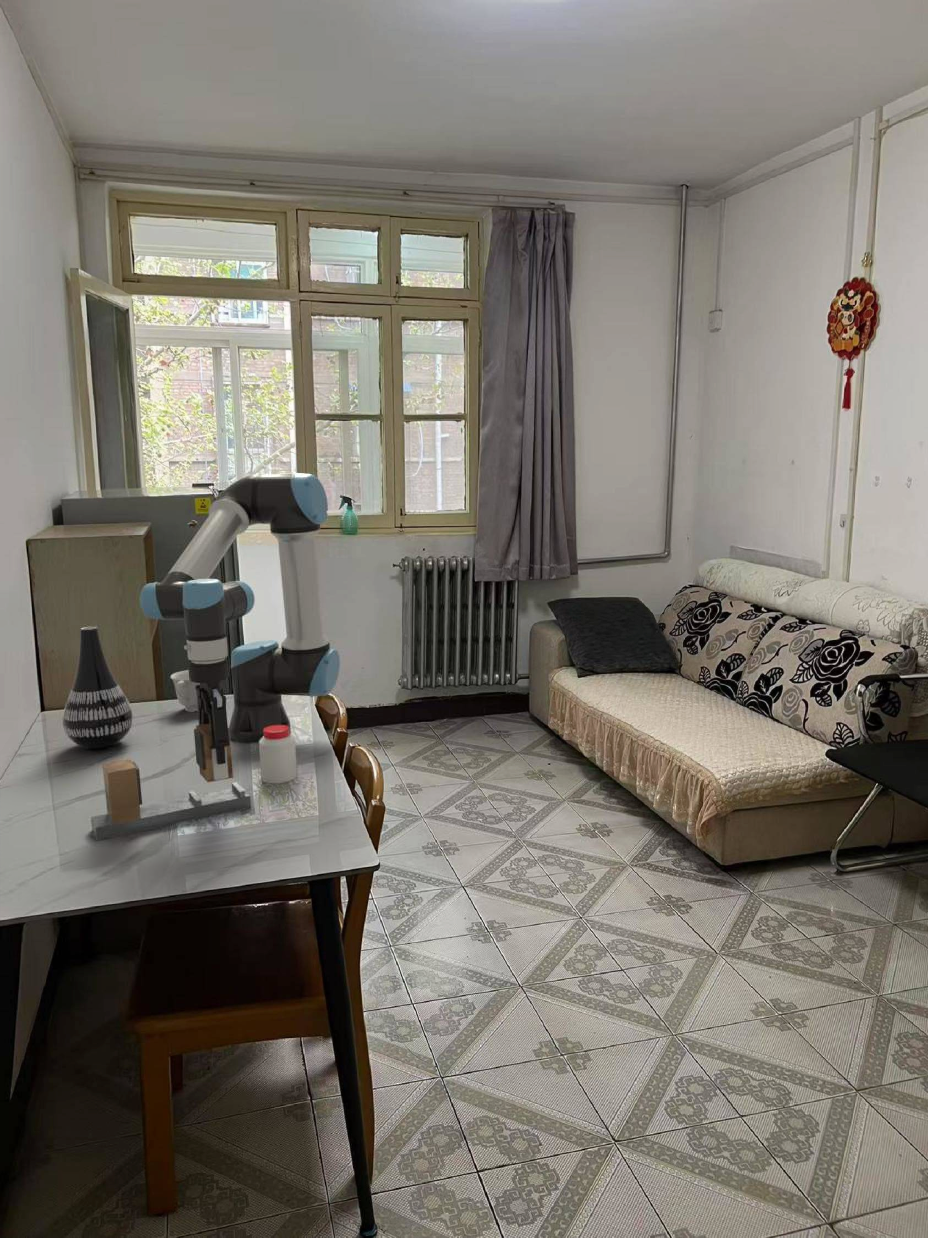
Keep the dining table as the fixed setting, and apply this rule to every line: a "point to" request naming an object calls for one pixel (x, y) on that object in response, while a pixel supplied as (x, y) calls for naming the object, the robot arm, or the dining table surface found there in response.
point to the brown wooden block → (208, 752)
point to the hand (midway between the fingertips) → (216, 773)
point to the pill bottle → (277, 755)
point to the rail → (133, 818)
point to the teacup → (185, 690)
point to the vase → (95, 699)
